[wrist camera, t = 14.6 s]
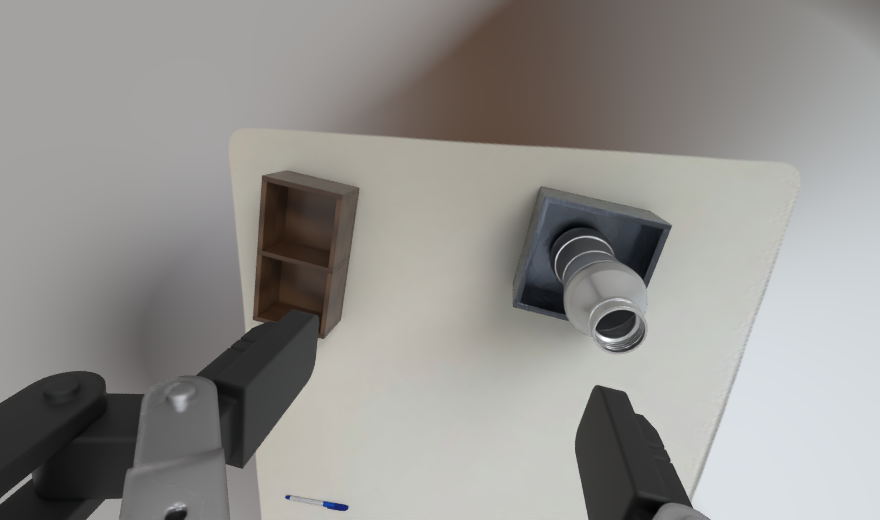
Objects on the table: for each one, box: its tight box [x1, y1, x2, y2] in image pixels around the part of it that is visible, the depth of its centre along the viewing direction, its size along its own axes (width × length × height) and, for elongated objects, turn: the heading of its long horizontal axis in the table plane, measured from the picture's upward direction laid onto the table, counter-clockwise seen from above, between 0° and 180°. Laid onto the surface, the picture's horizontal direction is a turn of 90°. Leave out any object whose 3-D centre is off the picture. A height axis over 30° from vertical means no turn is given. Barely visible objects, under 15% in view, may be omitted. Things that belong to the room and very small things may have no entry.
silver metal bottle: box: [550, 228, 648, 354], centre depth 39 cm, size 6×7×20 cm
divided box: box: [253, 171, 359, 339], centre depth 52 cm, size 18×9×5 cm, turn 168°
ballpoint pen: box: [285, 496, 348, 511], centre depth 68 cm, size 10×1×1 cm, turn 89°
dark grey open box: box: [513, 186, 672, 321], centre depth 46 cm, size 12×12×7 cm
